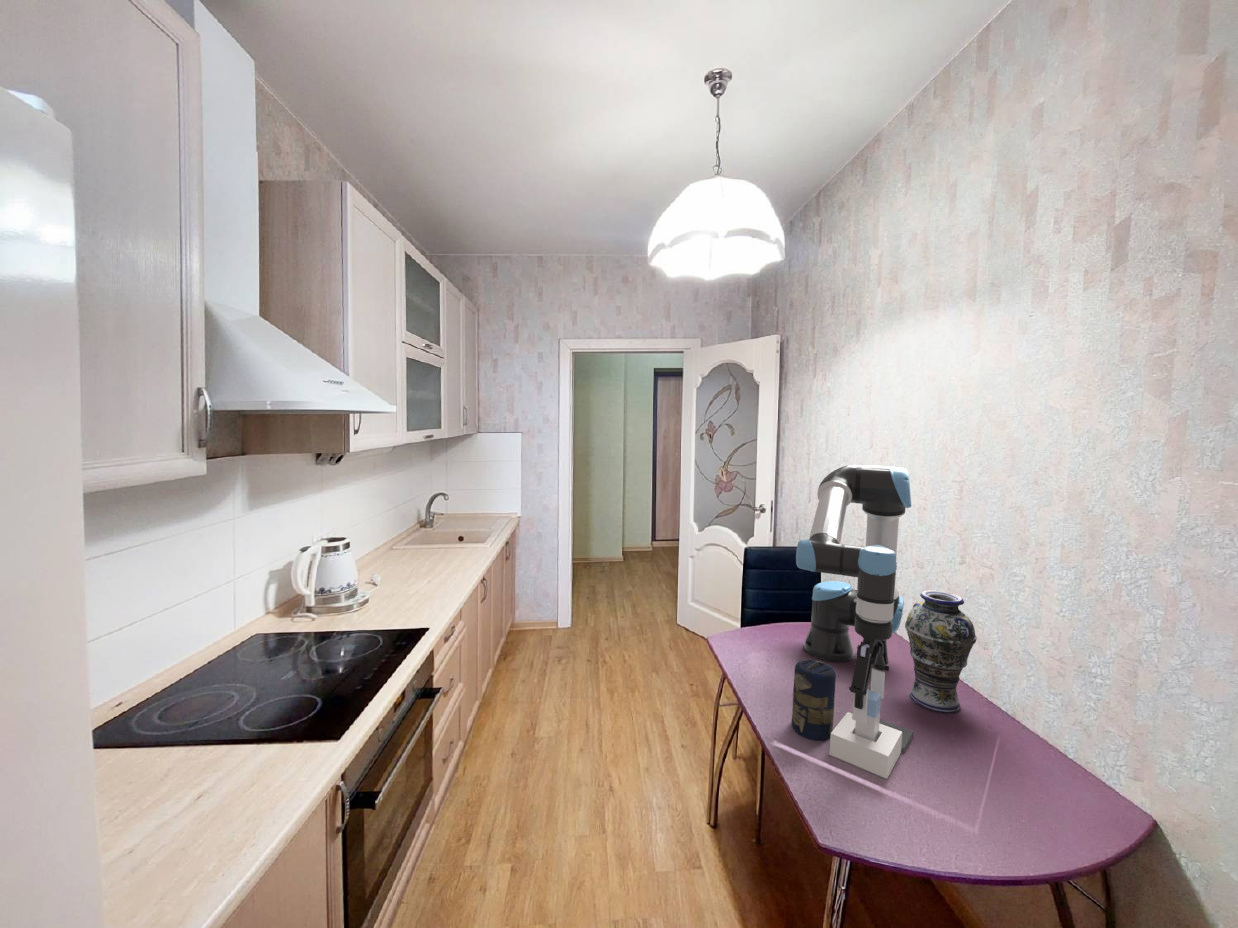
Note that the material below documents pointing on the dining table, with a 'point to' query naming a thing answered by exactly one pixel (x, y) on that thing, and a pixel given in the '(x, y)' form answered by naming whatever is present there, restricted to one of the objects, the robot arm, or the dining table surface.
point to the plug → (870, 718)
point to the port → (866, 747)
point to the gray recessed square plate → (906, 734)
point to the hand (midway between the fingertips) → (868, 708)
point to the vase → (938, 649)
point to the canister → (813, 699)
